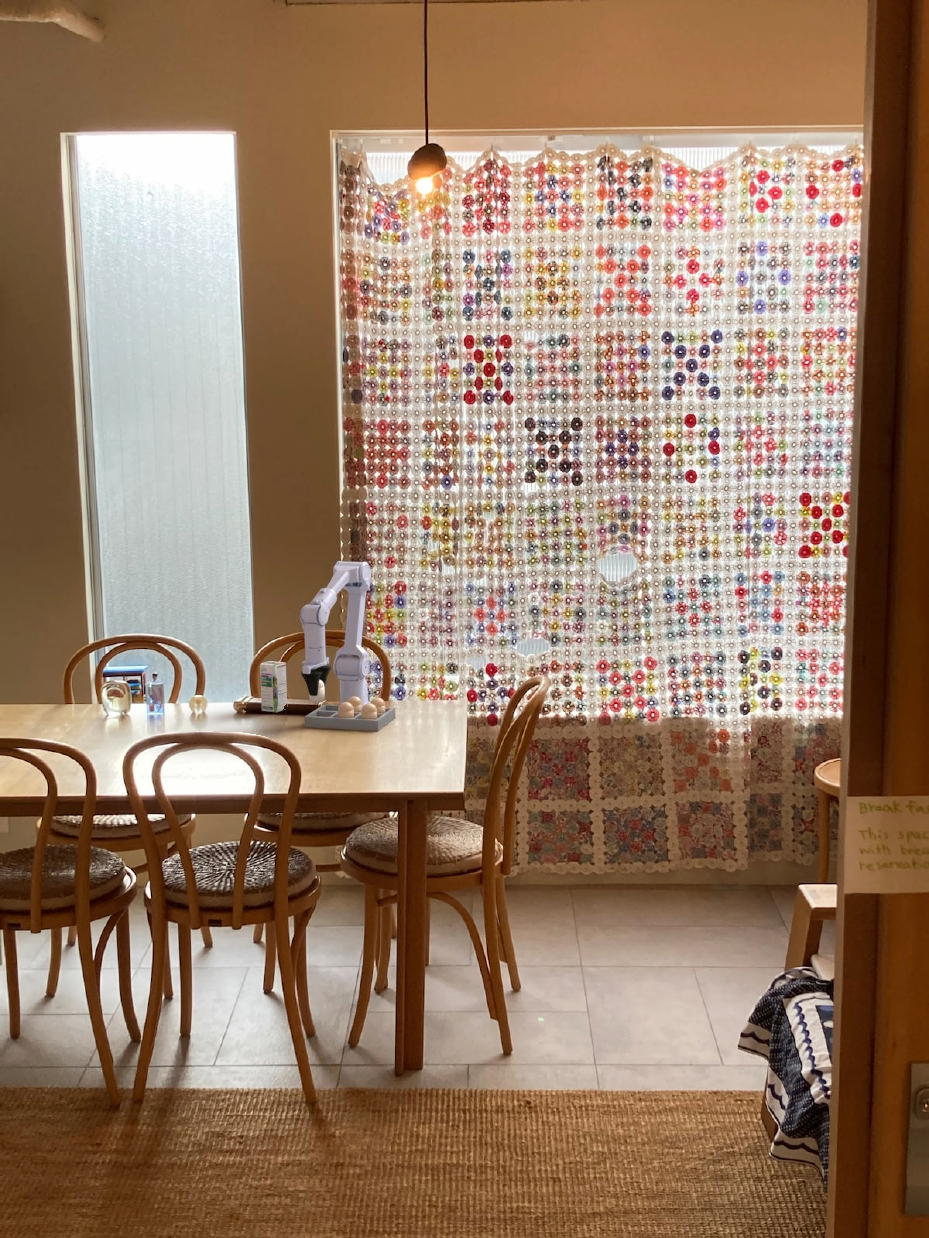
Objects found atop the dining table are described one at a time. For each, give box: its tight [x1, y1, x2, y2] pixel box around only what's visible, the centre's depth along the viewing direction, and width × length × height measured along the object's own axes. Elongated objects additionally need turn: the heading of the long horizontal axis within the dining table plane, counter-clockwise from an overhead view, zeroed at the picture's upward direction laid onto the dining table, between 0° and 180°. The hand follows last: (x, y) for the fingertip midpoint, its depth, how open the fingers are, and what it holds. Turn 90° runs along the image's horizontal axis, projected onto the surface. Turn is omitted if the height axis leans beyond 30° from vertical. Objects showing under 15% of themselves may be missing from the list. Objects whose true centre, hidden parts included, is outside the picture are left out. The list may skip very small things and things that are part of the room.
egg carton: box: [304, 696, 396, 732], centre depth 331 cm, size 15×22×7 cm
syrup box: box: [259, 660, 288, 713], centre depth 347 cm, size 6×6×14 cm
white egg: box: [308, 680, 326, 703], centre depth 329 cm, size 4×4×6 cm
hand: (317, 693), depth 329 cm, fingers closed on white egg, 4 cm apart
